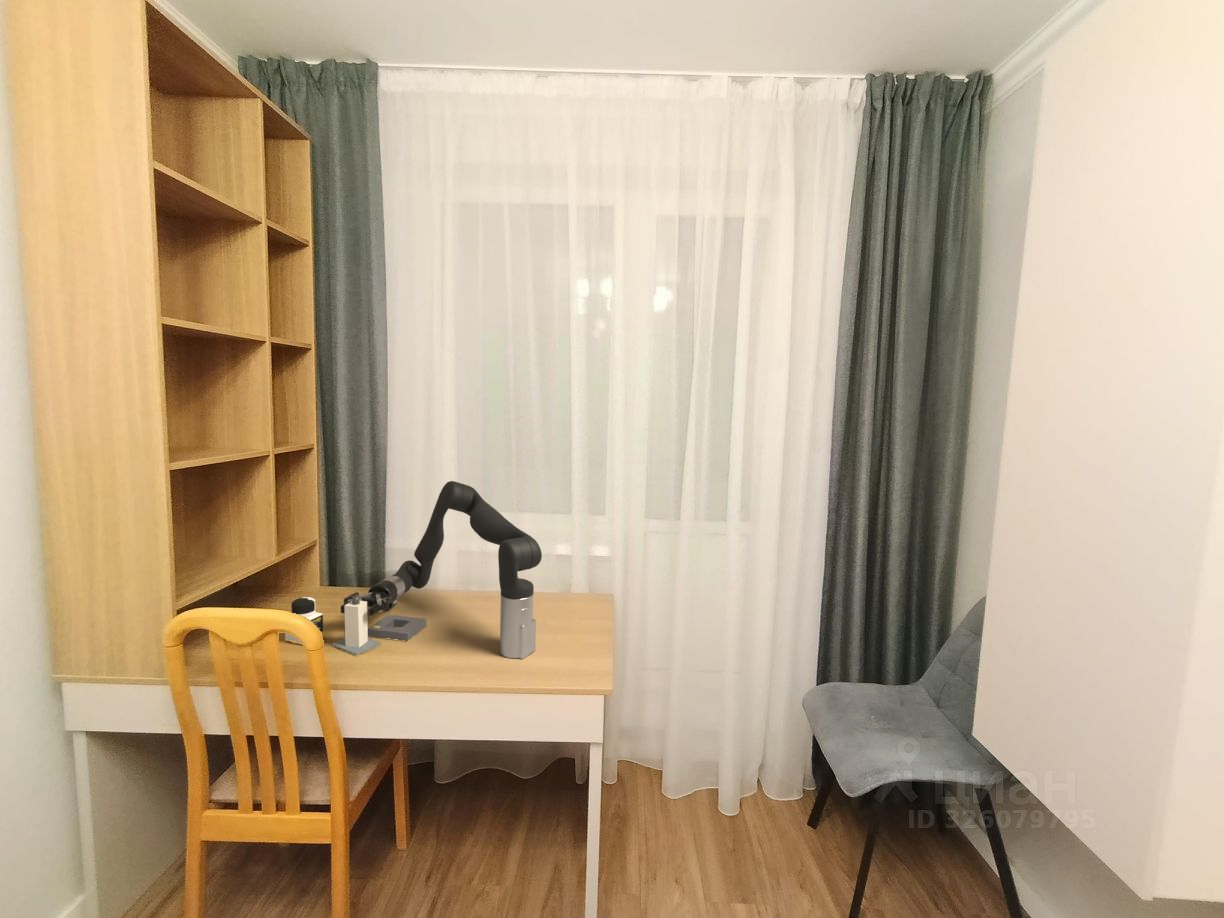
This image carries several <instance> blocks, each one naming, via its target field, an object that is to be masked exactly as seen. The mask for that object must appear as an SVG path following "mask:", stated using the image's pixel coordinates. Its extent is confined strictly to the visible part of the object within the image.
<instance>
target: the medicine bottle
mask: <svg viewBox="0 0 1224 918" xmlns="http://www.w3.org/2000/svg"><path fill="white" fill-rule="evenodd" d="M292 613H296V614H299V615H301V616H303V617H306V618H307V619H309V620H311V621H312V622H313V623H314V624H315V625H316V626H317V627H318V628H319V630H320V631H321V632H322V634H323V635H324V614H323V612H318V611H316V599H315V598H313V597H307V596H304V597H303V596H302V597H299V598H297V599H295V600H293V601H292V602H291V614H292ZM287 639H288V640H293V641H295V640H296V642H298V643H299V644H300V642H299V641H298V639H297V638H295V637H294V636H292V635H290V634H287V633H285V632H284V640H287ZM299 644H298V645H299ZM300 646H302V645H301V644H300Z"/></svg>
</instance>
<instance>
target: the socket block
mask: <svg viewBox="0 0 1224 918" xmlns="http://www.w3.org/2000/svg"><path fill="white" fill-rule="evenodd" d="M394 626H396V627H394ZM400 627H402V628H400ZM426 627H427V618H425V617H415V616H404V615H398V614H386V615H385V616H384V617H382V618H381V619H379V620H378V621H376V622H374V623H373V624H372V625H370V626H369V627H368V636H369V637H368V638H372V637H379V638H378V639H380V638H390V639H398V640H405V641H404V642H406V641H408V640H409V639H410V640H412V639H413V638H414V637H415V636H416V635H418V634H417V633H418V632H419V633H420V632H422V630H424V629H425V628H426ZM414 635H415V636H414ZM370 636H371V637H370ZM413 636H414V637H413ZM412 637H413V638H412ZM411 638H412V639H411ZM410 640H409V641H410ZM409 641H408V642H409Z"/></svg>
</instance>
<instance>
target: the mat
mask: <svg viewBox="0 0 1224 918" xmlns="http://www.w3.org/2000/svg"><path fill="white" fill-rule="evenodd" d="M380 644H381V645H382V642H380V641H377V640H375V639H373V638H370V637H368V641H367V642H366V643H365V644H363V645H362V646H361V647H359V648H358V647H349V646H346V644H345V638H343V639H341V640H337V641H335V642H333V643H332V644H331V646H332V647H333V646H334V647H333V648H336V647H338V648H340V649H339V650H341V649H343V650H345V651H348V652H350V653H353V654H355V655H358V654H360V653H362V652H365V651H367V650H369V649H371V648H374V647H376V646H378V645H380ZM378 647H379V646H378ZM338 648H337V649H338ZM376 648H377V647H376ZM374 649H375V648H374ZM343 650H342V651H343ZM345 651H344V652H345ZM369 651H370V650H369ZM348 652H347V653H348ZM367 652H368V651H367ZM350 653H349V654H350ZM365 653H366V652H365ZM353 654H352V655H353ZM355 655H354V656H355ZM358 656H359V655H358Z"/></svg>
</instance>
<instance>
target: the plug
mask: <svg viewBox="0 0 1224 918" xmlns="http://www.w3.org/2000/svg"><path fill="white" fill-rule="evenodd" d="M368 628H369V627H368V607H367V601H362V600H360V596H352V601H351V602H350V603H348V604H346V605H345V613H344V634H345V636H344V637H345V638H344V639H345V644H346V646H349V647H358V648H359V647H361V646H362V645H363V644H365V643H366V642H367V641H368V638H369V637H368Z"/></svg>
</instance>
